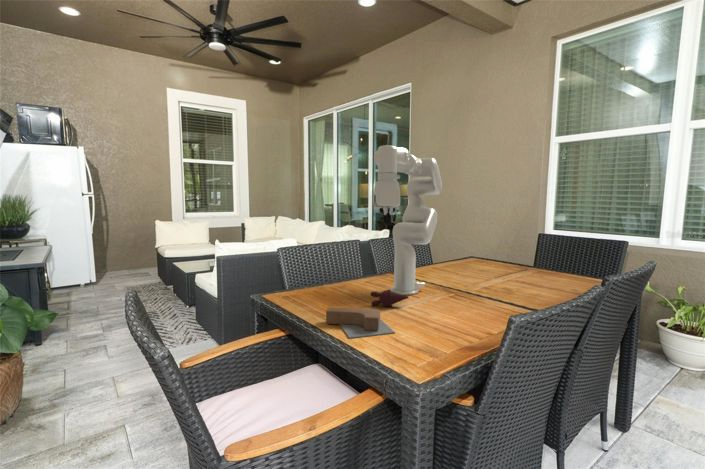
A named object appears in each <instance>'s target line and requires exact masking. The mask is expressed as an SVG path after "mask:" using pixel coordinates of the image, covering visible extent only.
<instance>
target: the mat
mask: <svg viewBox="0 0 705 469" xmlns="http://www.w3.org/2000/svg"><path fill="white" fill-rule="evenodd" d="M338 325H339V326H340V328H341V329H342V330H343V332H344V333H345V334H346V336H347V337H348V339H358V338H359V339H360V338H367V337H374V336H382V335H392V334H396V333H395V331H394V330H393V329H392V328H391V327H390V326H388V324H386V323H385V321H383V319H381V318H380V324H379V329H378V331H366V330H364V327H362V326H360V325H348V324H338Z"/></svg>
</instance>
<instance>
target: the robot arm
mask: <svg viewBox="0 0 705 469" xmlns="http://www.w3.org/2000/svg"><path fill="white" fill-rule="evenodd" d="M373 161H374V163H375V165H376V166H377V181H375V182H374V188H373V197H372V198H373V199H372V204H373V210H374V211H379V213H380V214H381V215H382V223H383V225H384V226H390V225H391V223H392V215H393V213H394V212H395V211H398V210H400V209H401V207H400V206H401V190H400V183H399V181H398V180H399V179H401V175H399V174H398V173H403V174H406V175H408V176H411V177H413V178H411V179H409V181H408V182H407V185H406V193H407V200H408V204H407V206H406V209H405V210H404V213H403V214H402V222H397V223H396V224H395V225H393V228H392V238H393V246H394V247H393V248H394V250H393V251H394V257H393V258H394V265H393V266H394V267H393V268H394V272H393V273H394V274H393V277H394V278H393V285H394V286H391V288H390V290H391V292H394V293H398V294H401V295H405V296H409V295H410V296H411V295H416V294H418V293H419V288H420V287H421V288H422V287H425V286H426V282H425V281H424V282H419V281H416V266H417V264H416V263H417V260H416V258H417V256H416V254H417V253H416V251H415V248H414V247H413V246H412V245H422V246H423V245H429V243H430V242H431V241H432V239H433V236H434V233H435V230H436V227H437V224H438V212H437V211H436V209H434V208H433V207H427V204H426V202H425V200H424V199H423V198H422V197H421V196H437V195H440V194H441V193H442V190H443V181H442V177H441V172H440V168H439V164H438V163H437V160H436V159H435V158H434V157H423V158H418V157H417V156H415V155H413V154H411V153H410V152H409V150H408V149H407V148H406V147H404V146H403V147H402V146H396V145H392V144H391V145H389V144H385V145H380V146H379V147H378V148H377V150H376V151H375V153H374V156H373Z"/></svg>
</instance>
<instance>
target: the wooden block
mask: <svg viewBox="0 0 705 469" xmlns="http://www.w3.org/2000/svg"><path fill="white" fill-rule="evenodd" d="M325 313H326V314H325V320H326V321H325V322H326V324H329V325H331V324H332V325H339V324H348V325H360V326H362V327H364V330H366V331H378V329H379V324H380V319H381V310H380V309H378V308H359V307H358V308H356V307H355V308H353V307H333V306H331V307H330V306H329V307H328V308H327V309H326V310H325Z"/></svg>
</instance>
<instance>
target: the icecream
mask: <svg viewBox="0 0 705 469" xmlns="http://www.w3.org/2000/svg"><path fill="white" fill-rule="evenodd" d="M370 297H372V298H378V299H377V300H373V301H371V303H370V304H371V306H373V307H376V306H380V305H383V306H385V307H391V308H393V305H394V304H396V303H399V302H402V301H404V300H407V299H409V295H402V294H398V293H394V292H391V288H388V289H386V290H383V291H382V292H381V293H380V292H378V291H377V290H376V291H375V290H374V291H371V292H370Z"/></svg>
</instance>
